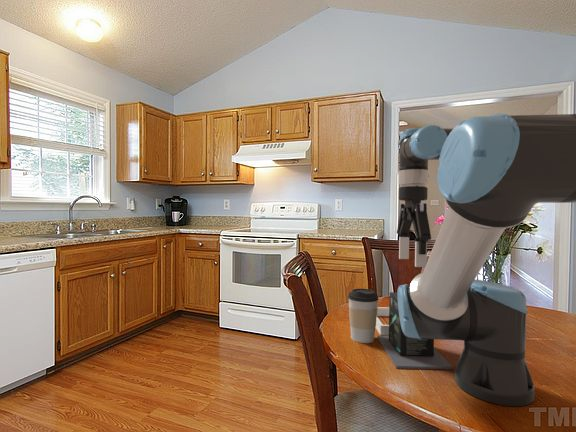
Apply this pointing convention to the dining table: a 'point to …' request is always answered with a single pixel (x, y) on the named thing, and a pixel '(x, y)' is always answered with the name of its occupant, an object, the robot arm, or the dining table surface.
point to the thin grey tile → (414, 358)
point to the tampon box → (398, 338)
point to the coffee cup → (362, 314)
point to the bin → (379, 326)
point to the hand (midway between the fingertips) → (411, 262)
